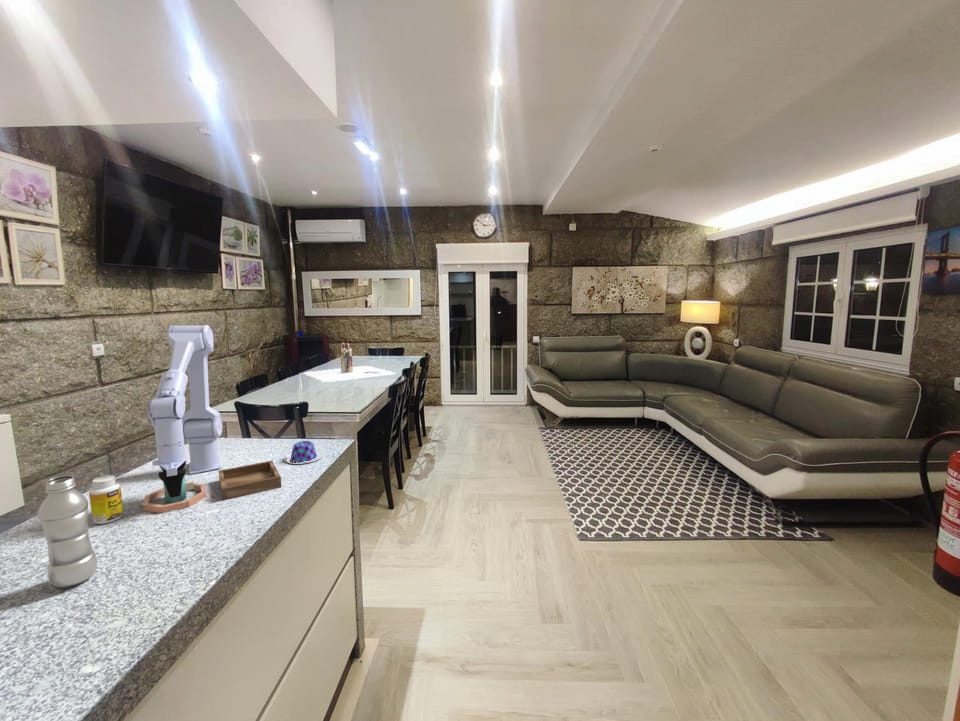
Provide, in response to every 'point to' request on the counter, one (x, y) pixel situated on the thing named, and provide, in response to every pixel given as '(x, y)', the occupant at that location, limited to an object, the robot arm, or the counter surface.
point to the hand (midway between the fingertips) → (175, 492)
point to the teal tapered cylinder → (183, 495)
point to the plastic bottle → (66, 533)
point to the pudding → (303, 452)
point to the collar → (173, 506)
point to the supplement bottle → (105, 500)
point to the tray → (249, 479)
